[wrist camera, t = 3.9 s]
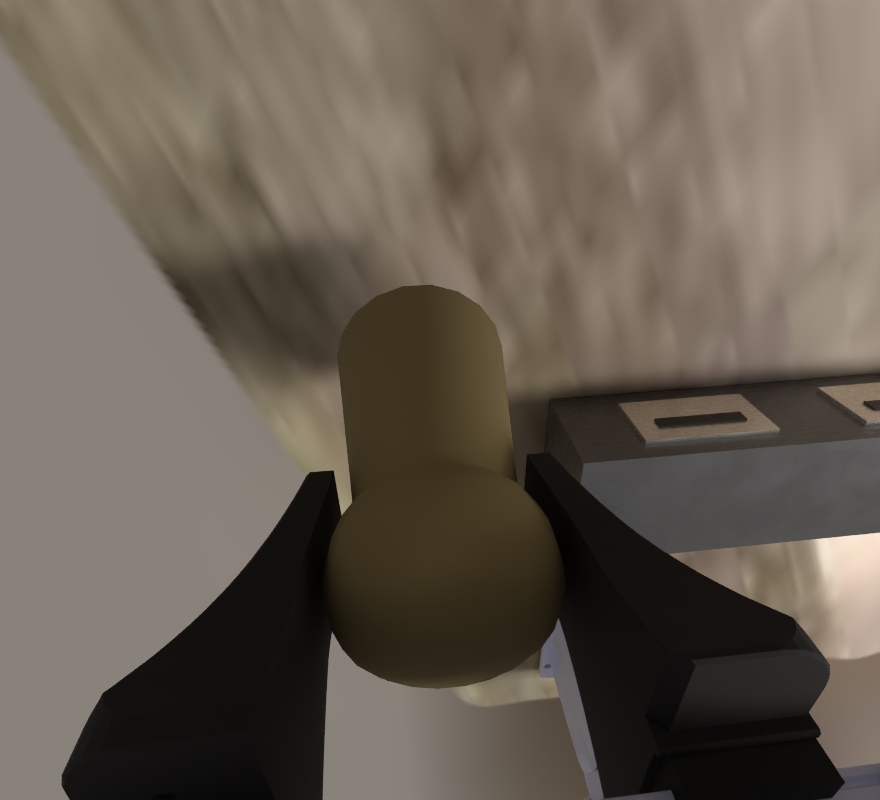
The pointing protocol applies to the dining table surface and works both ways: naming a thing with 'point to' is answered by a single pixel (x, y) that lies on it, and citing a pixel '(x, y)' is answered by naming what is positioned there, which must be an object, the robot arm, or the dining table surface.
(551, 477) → the robot arm
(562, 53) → the dining table surface
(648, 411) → the dark gray slotted box
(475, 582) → the cork
